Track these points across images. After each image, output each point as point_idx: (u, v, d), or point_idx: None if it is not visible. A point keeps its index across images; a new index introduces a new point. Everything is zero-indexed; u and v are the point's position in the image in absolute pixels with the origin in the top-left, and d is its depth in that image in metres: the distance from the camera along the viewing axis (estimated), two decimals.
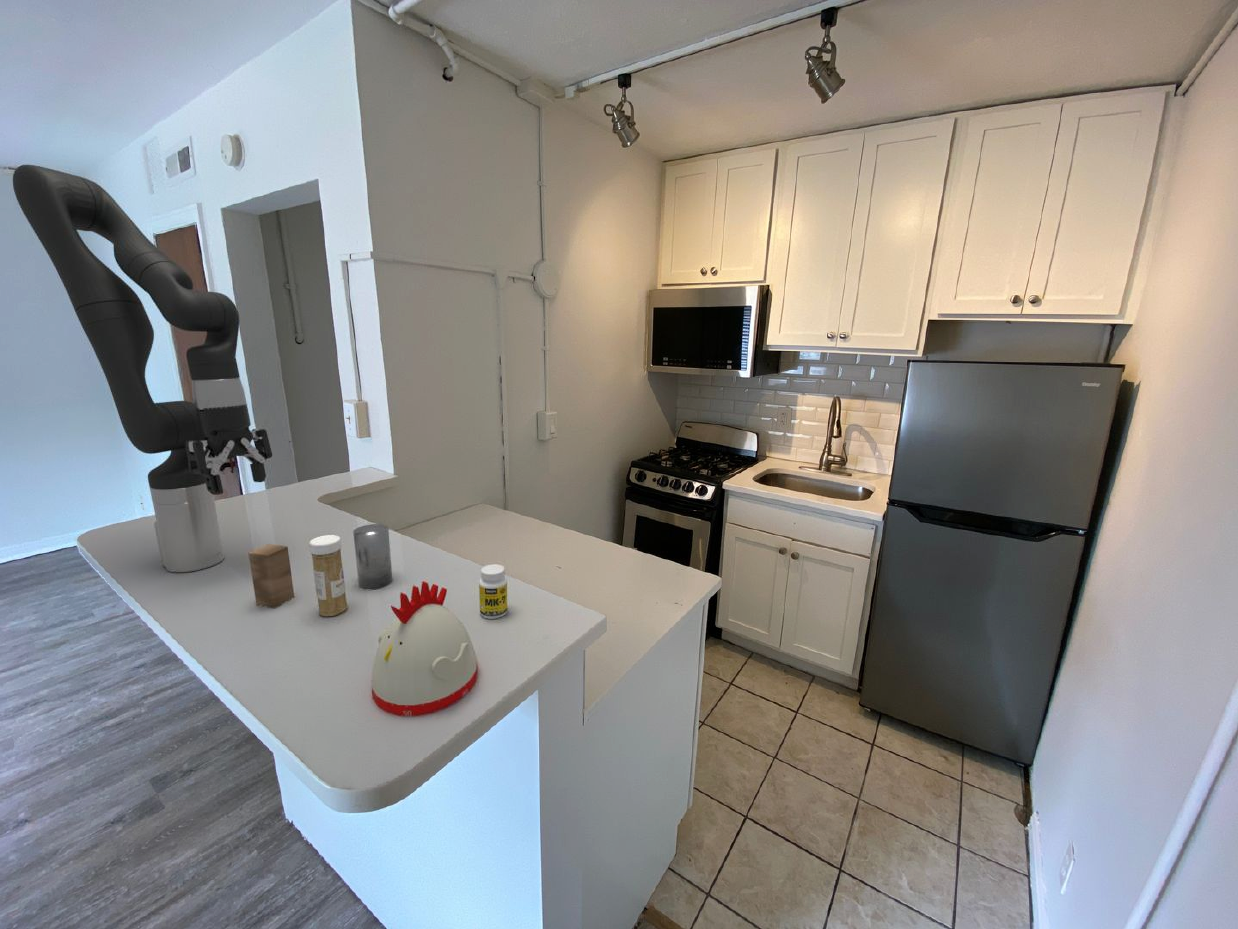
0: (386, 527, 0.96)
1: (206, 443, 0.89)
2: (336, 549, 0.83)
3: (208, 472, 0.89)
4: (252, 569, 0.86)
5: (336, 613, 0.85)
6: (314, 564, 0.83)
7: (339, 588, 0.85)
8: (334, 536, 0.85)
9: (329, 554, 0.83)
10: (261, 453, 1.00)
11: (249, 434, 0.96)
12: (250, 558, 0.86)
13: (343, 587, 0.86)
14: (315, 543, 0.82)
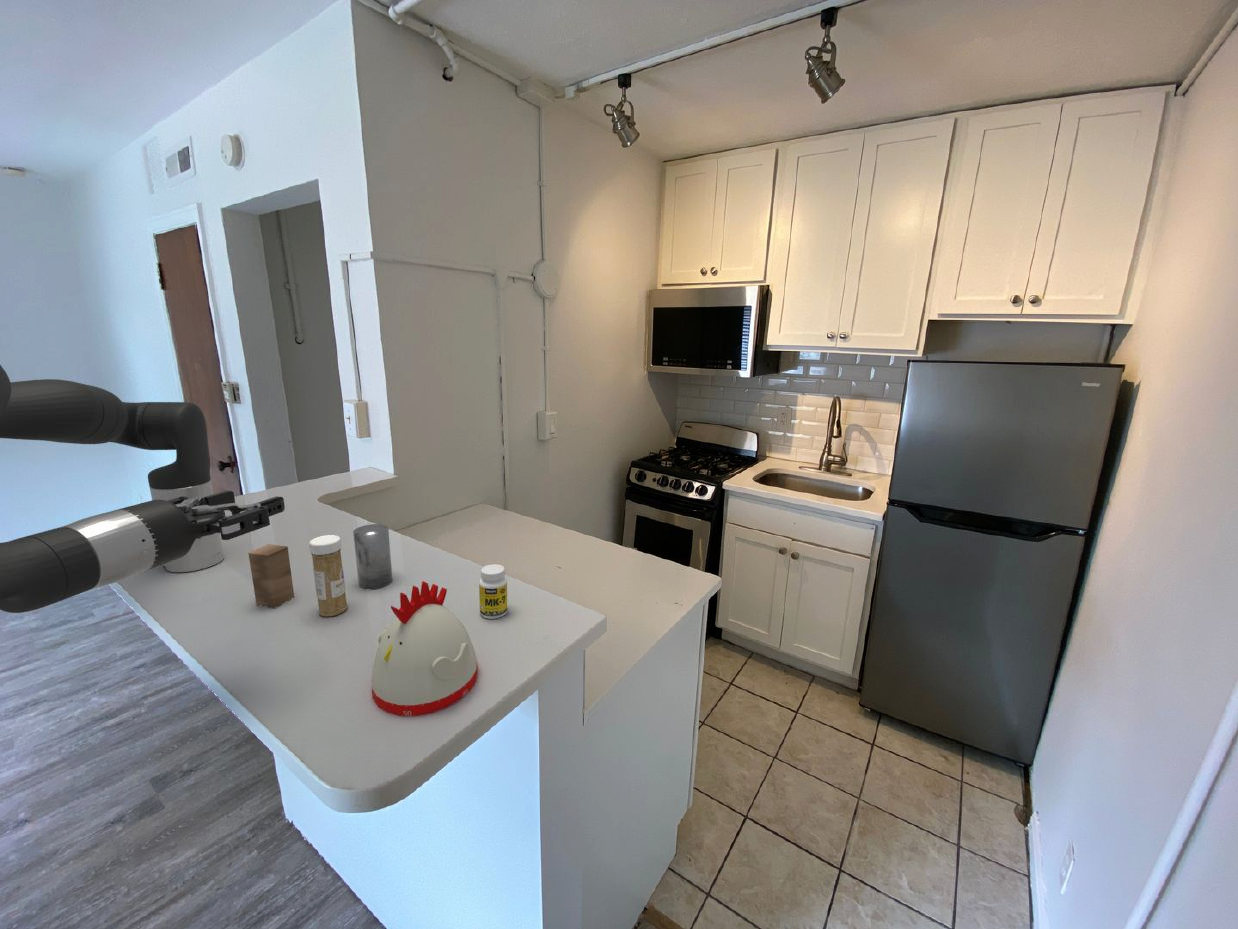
0: (386, 527, 0.96)
1: None
2: (336, 549, 0.83)
3: None
4: (252, 569, 0.86)
5: (336, 613, 0.85)
6: (314, 564, 0.83)
7: (339, 588, 0.85)
8: (334, 536, 0.85)
9: (329, 554, 0.83)
10: (256, 516, 0.64)
11: None
12: (250, 558, 0.85)
13: (343, 587, 0.86)
14: (315, 543, 0.82)
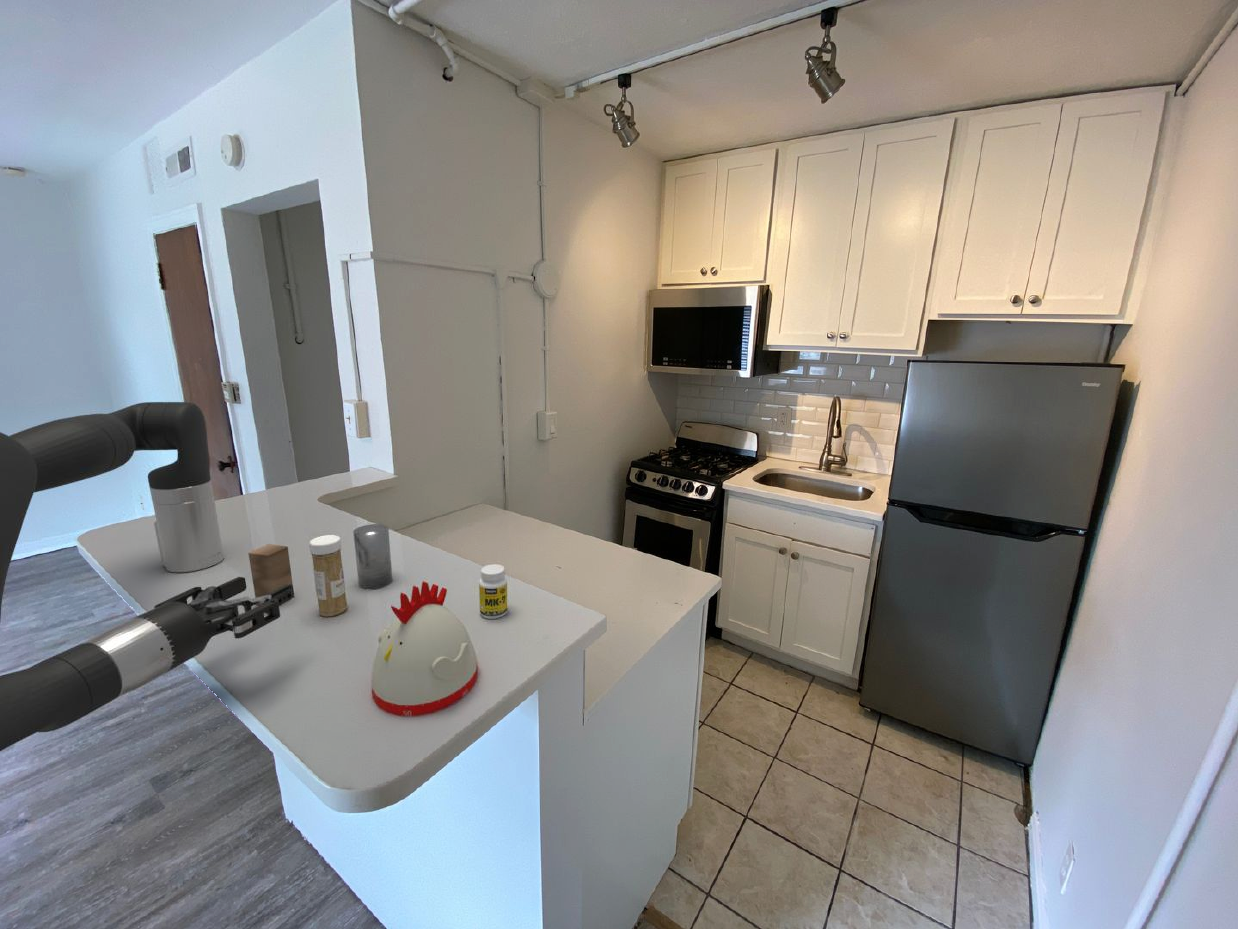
0: (386, 527, 0.96)
1: None
2: (336, 549, 0.83)
3: None
4: (252, 569, 0.86)
5: (336, 613, 0.85)
6: (314, 564, 0.83)
7: (339, 588, 0.85)
8: (334, 536, 0.85)
9: (329, 554, 0.83)
10: (267, 609, 0.67)
11: None
12: (250, 558, 0.86)
13: (343, 587, 0.86)
14: (315, 543, 0.82)
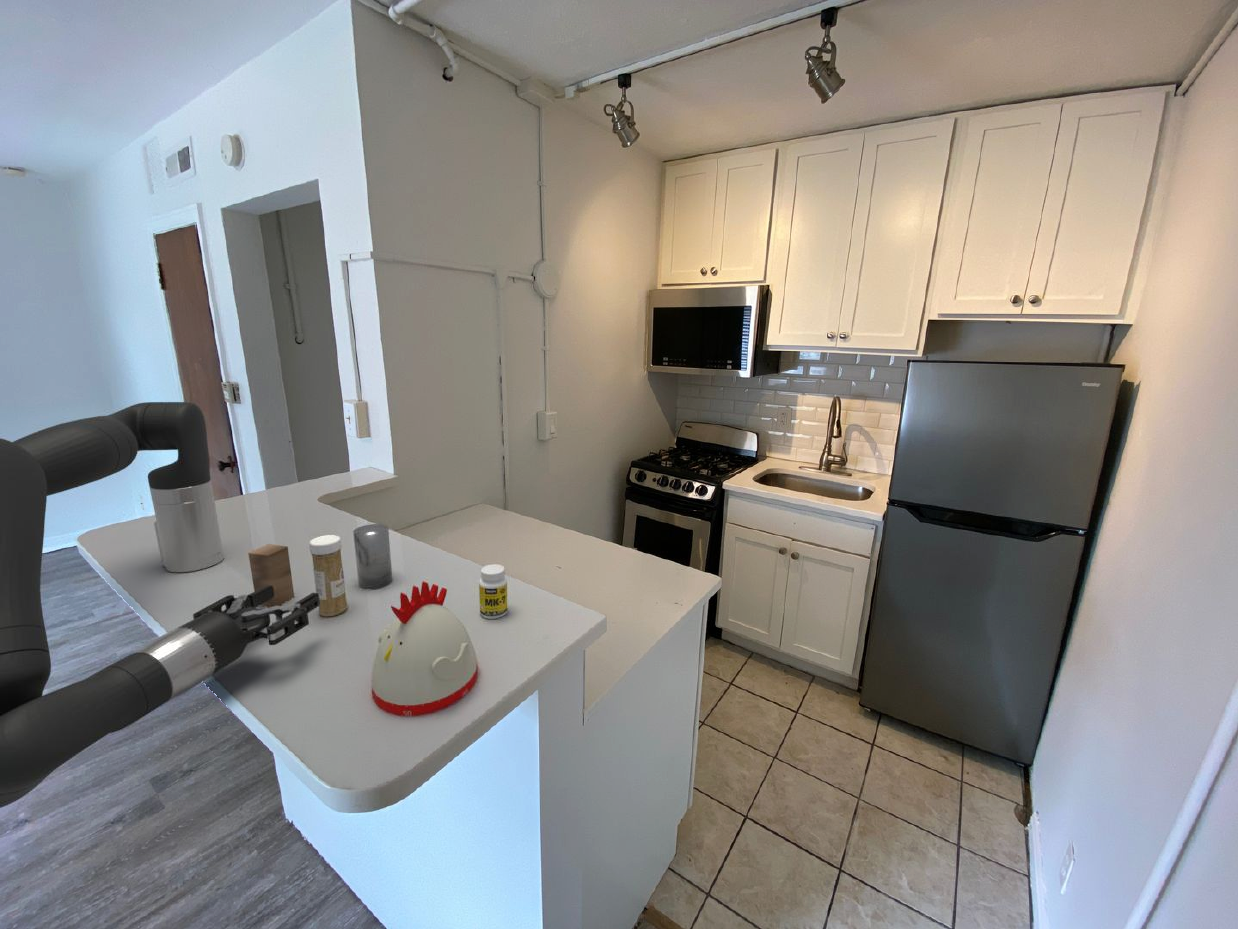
0: (386, 527, 0.96)
1: None
2: (336, 549, 0.83)
3: None
4: (252, 569, 0.86)
5: (336, 613, 0.85)
6: (314, 564, 0.83)
7: (339, 588, 0.85)
8: (334, 536, 0.85)
9: (329, 554, 0.83)
10: (297, 617, 0.72)
11: None
12: (250, 558, 0.86)
13: (343, 587, 0.86)
14: (315, 543, 0.82)
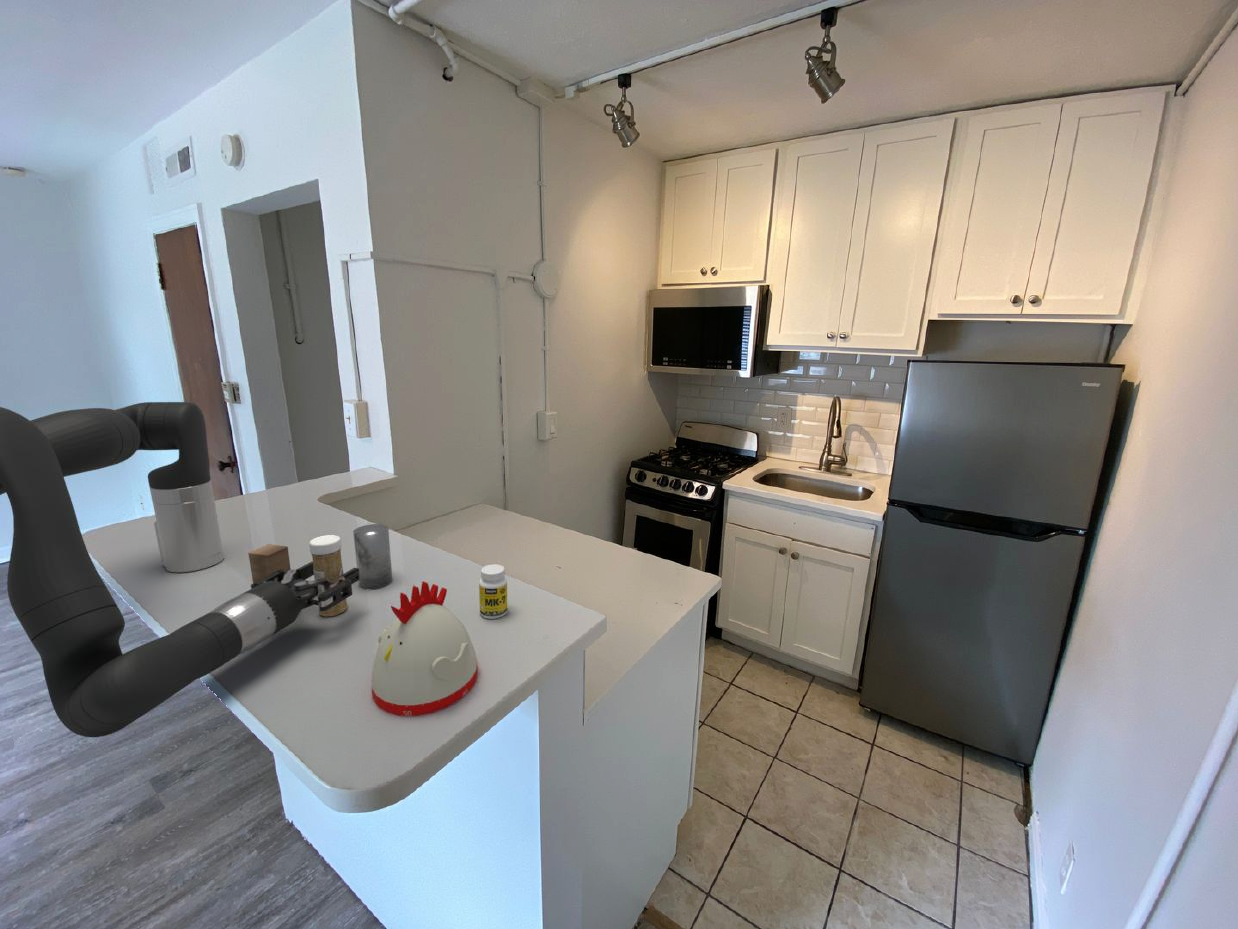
0: (386, 527, 0.96)
1: None
2: (336, 549, 0.83)
3: None
4: (252, 569, 0.86)
5: (336, 613, 0.85)
6: (314, 564, 0.83)
7: None
8: (334, 536, 0.85)
9: (329, 554, 0.83)
10: (342, 588, 0.80)
11: None
12: (250, 558, 0.86)
13: None
14: (315, 543, 0.82)
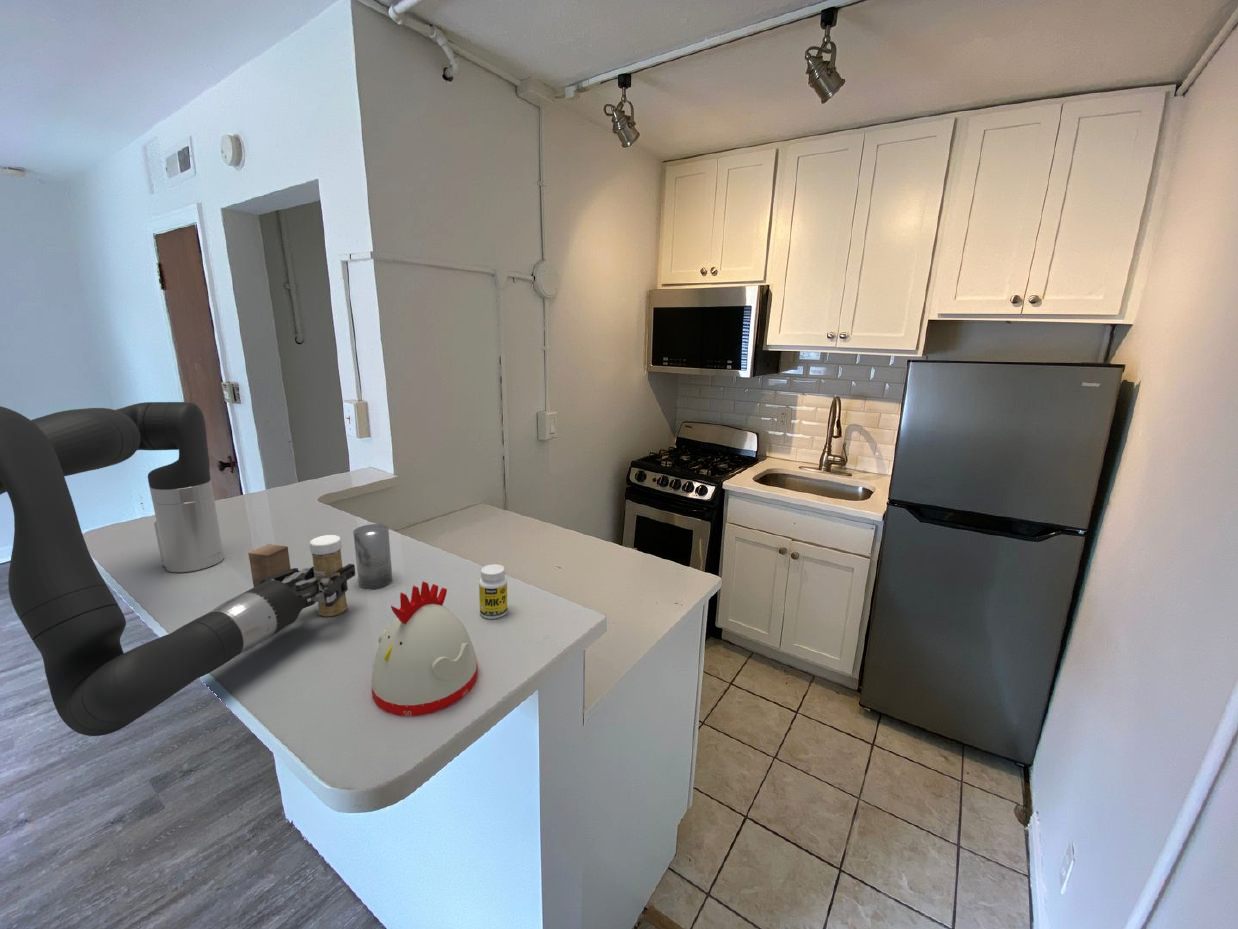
0: (386, 527, 0.96)
1: None
2: (336, 549, 0.83)
3: None
4: (252, 569, 0.86)
5: (336, 613, 0.85)
6: (314, 564, 0.83)
7: None
8: (334, 536, 0.85)
9: (329, 554, 0.83)
10: None
11: None
12: (250, 558, 0.86)
13: None
14: (316, 543, 0.82)
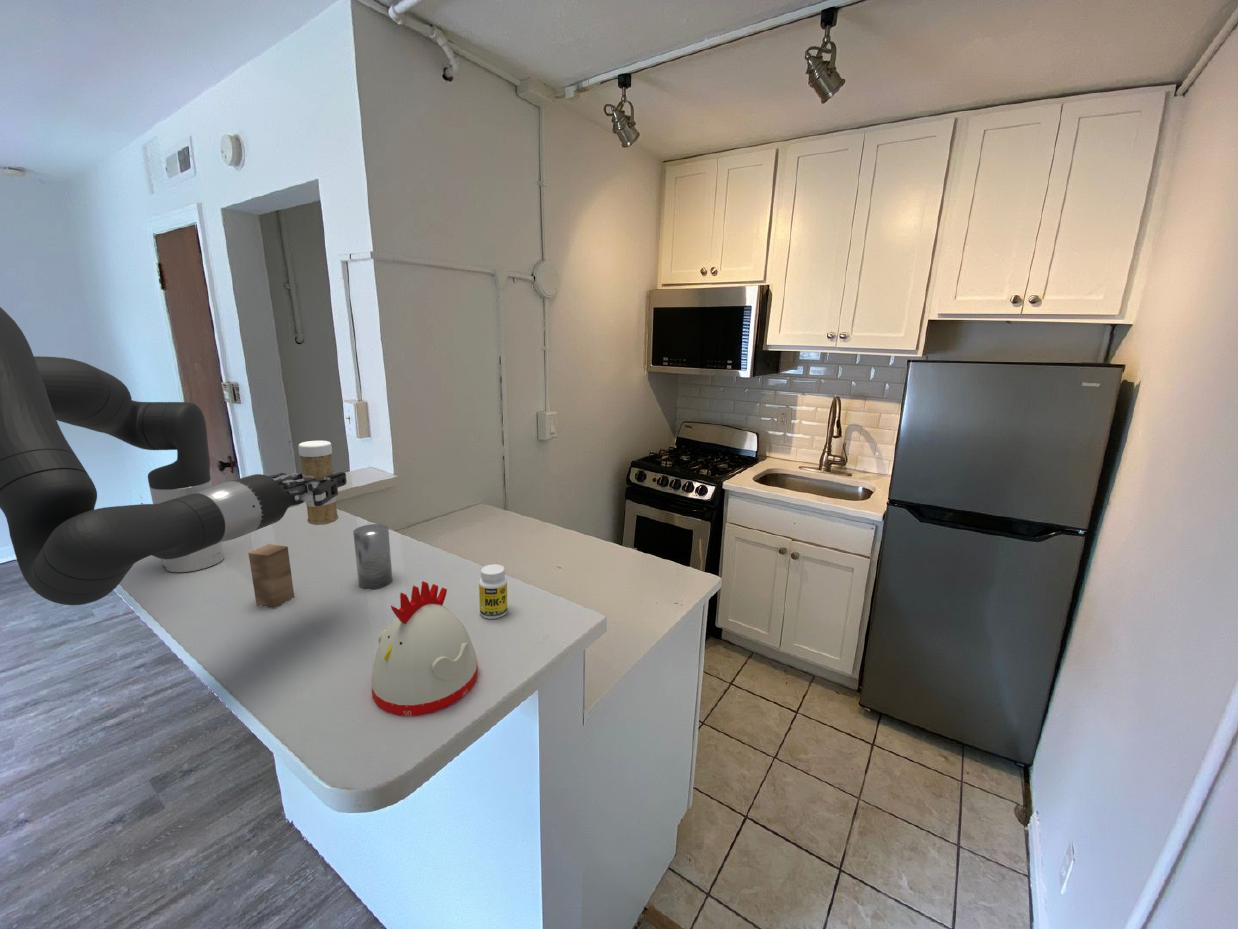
0: (386, 527, 0.96)
1: None
2: (326, 453, 0.79)
3: None
4: (252, 569, 0.86)
5: (326, 522, 0.81)
6: (303, 468, 0.79)
7: None
8: (325, 441, 0.81)
9: (319, 457, 0.79)
10: None
11: None
12: (250, 558, 0.86)
13: None
14: (305, 444, 0.78)
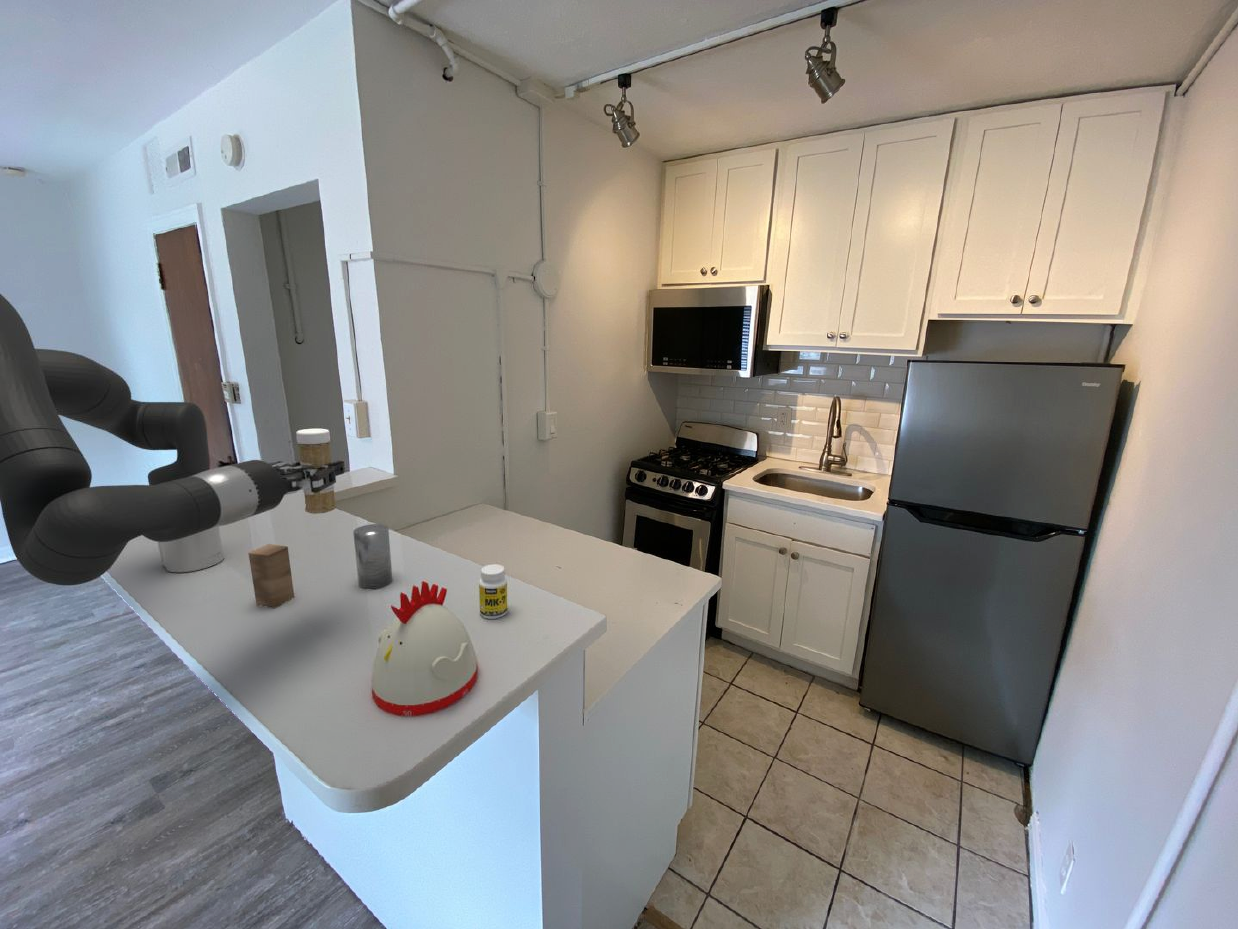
0: (386, 527, 0.96)
1: None
2: (324, 440, 0.79)
3: None
4: (252, 569, 0.86)
5: (324, 510, 0.81)
6: (301, 455, 0.78)
7: None
8: (323, 429, 0.80)
9: (317, 444, 0.78)
10: None
11: None
12: (250, 558, 0.86)
13: None
14: (302, 432, 0.77)
